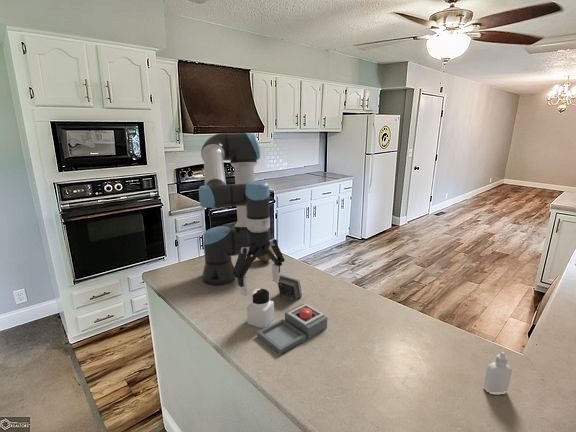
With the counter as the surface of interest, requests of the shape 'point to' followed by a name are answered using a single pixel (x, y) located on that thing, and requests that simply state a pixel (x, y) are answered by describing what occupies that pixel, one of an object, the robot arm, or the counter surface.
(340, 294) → the counter surface
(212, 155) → the robot arm
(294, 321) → the console
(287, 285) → the electrical switch
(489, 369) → the eye dropper bottle
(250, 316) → the medicine bottle
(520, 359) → the counter surface
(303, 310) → the button
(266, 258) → the natural sponge
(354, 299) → the counter surface
